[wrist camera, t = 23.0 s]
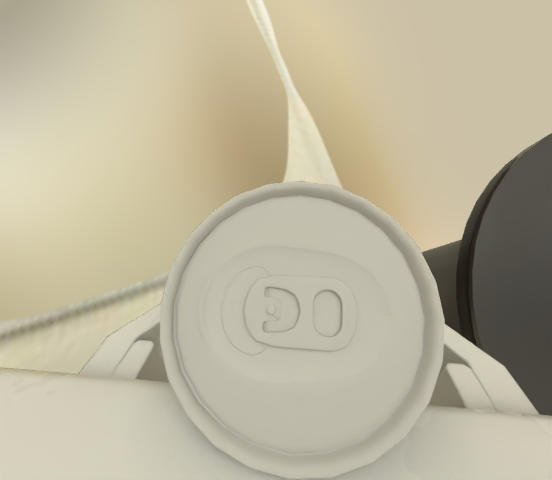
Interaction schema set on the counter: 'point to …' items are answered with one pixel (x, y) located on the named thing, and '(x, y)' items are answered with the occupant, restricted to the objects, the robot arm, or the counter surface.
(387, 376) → the beverage can
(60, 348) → the counter surface
